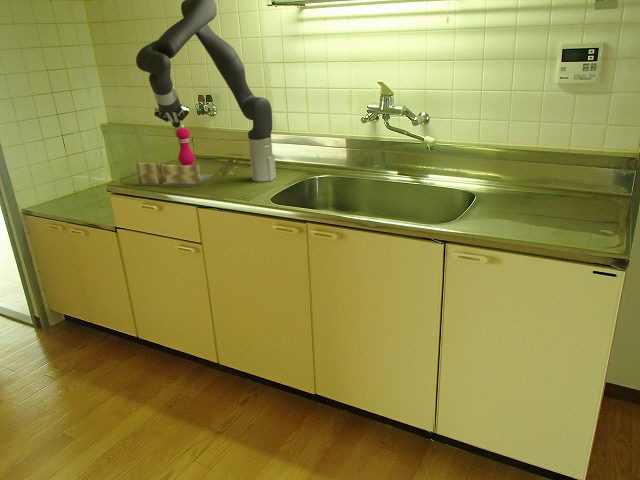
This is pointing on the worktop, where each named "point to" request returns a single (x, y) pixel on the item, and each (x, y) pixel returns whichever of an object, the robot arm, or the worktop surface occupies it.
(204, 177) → the card
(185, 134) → the pepper mill
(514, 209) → the worktop surface
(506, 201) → the worktop surface
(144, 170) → the fence frame
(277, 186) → the worktop surface
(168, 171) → the fence gate
